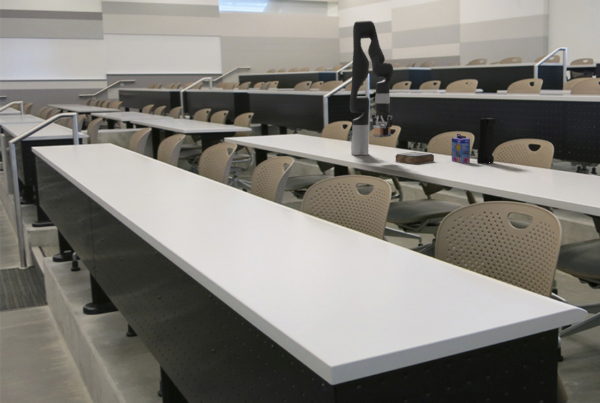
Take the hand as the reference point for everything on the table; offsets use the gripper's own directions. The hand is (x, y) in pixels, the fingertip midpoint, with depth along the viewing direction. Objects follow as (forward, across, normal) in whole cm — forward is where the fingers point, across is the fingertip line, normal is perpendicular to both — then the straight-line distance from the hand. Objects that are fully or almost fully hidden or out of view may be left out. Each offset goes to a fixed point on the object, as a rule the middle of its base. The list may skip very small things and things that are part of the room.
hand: (382, 134), depth 336 cm
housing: (+1, 0, 0) cm, 1 cm away
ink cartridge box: (+14, +29, +28) cm, 43 cm away
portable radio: (+14, +41, +33) cm, 55 cm away
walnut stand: (+14, +12, +12) cm, 22 cm away
